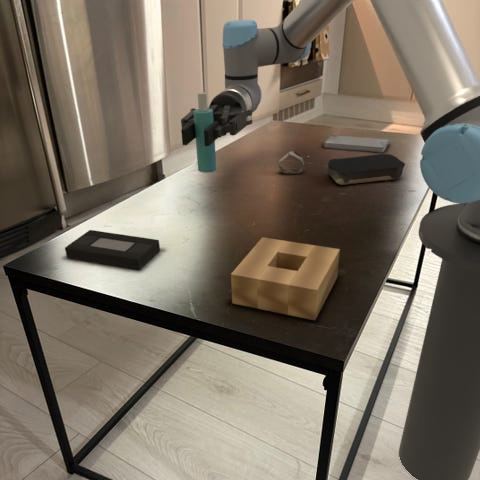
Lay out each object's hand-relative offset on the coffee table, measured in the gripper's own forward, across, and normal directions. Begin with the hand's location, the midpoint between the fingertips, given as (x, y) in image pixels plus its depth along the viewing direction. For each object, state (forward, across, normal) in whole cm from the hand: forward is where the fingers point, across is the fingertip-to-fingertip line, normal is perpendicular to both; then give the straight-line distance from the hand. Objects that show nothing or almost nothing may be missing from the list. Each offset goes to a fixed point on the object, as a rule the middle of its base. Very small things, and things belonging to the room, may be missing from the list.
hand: (195, 137), depth 90 cm
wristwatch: (-30, -12, -16) cm, 36 cm away
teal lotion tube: (-5, 0, -8) cm, 9 cm away
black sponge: (-30, -30, -16) cm, 45 cm away
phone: (-54, -26, -16) cm, 62 cm away
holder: (+23, -21, -16) cm, 35 cm away
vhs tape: (+17, +10, -16) cm, 26 cm away
